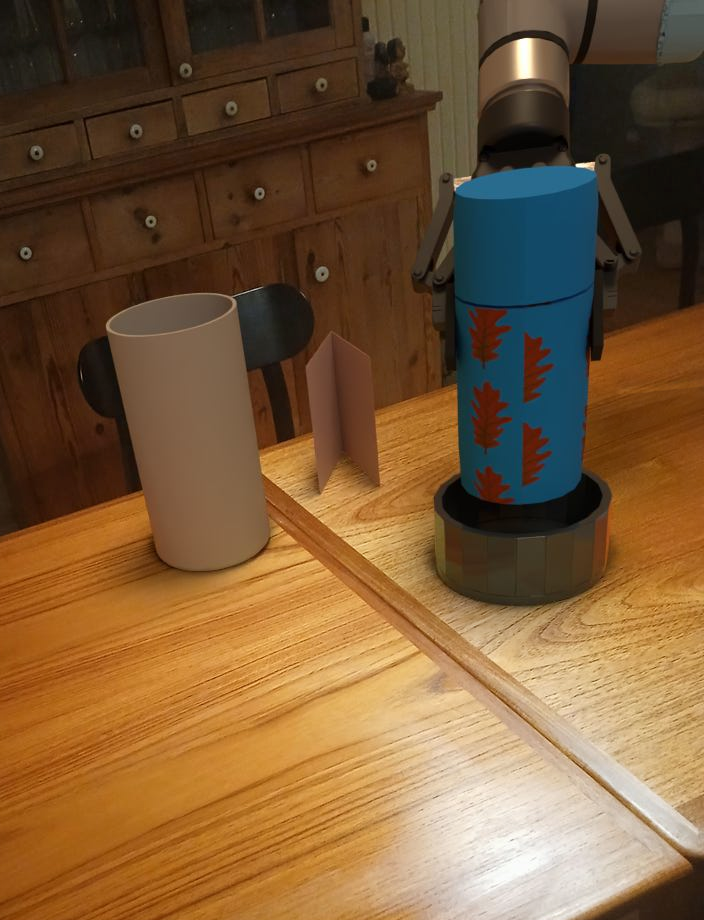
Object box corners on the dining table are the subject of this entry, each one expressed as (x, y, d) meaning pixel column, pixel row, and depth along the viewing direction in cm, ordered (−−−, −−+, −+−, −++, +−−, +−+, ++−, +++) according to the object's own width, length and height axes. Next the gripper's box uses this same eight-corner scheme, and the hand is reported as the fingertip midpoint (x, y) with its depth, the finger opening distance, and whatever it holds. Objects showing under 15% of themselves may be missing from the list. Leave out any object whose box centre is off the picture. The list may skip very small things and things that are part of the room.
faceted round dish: (590, 516, 99) (594, 452, 95) (622, 600, 86) (627, 530, 82) (432, 528, 102) (429, 467, 98) (440, 611, 89) (438, 544, 85)
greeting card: (335, 451, 121) (323, 331, 113) (395, 451, 119) (387, 327, 111) (312, 494, 113) (297, 367, 104) (376, 494, 110) (366, 364, 102)
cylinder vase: (167, 586, 101) (113, 346, 87) (149, 533, 111) (99, 311, 97) (284, 556, 102) (249, 315, 88) (256, 507, 112) (221, 285, 98)
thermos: (511, 442, 96) (514, 163, 82) (608, 470, 88) (629, 167, 74) (434, 485, 91) (423, 196, 77) (529, 517, 83) (536, 203, 69)
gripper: (663, 127, 84) (669, 368, 81) (390, 161, 91) (384, 387, 87) (678, 63, 77) (685, 325, 74) (380, 106, 83) (374, 349, 80)
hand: (522, 359), depth 80 cm, fingers closed on thermos, 11 cm apart
